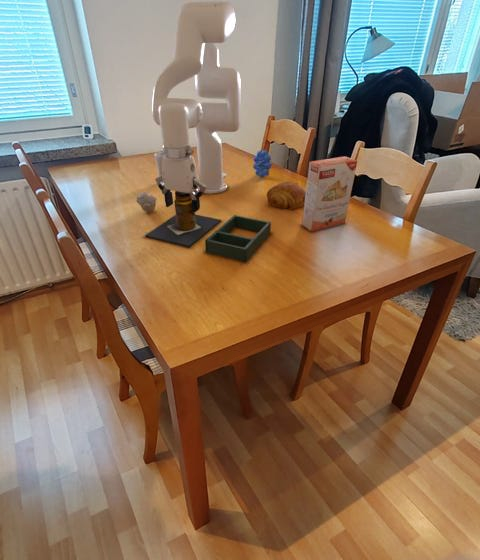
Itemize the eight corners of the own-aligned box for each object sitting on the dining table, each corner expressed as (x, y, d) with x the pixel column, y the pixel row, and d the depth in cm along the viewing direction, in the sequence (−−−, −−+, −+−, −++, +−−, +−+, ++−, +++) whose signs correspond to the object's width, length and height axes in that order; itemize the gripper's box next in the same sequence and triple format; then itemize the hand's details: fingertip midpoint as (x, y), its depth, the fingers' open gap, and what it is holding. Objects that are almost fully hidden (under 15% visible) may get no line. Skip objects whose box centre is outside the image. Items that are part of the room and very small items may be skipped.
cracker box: (312, 233, 112) (320, 166, 100) (301, 225, 116) (308, 161, 104) (346, 224, 117) (358, 159, 105) (334, 217, 122) (344, 154, 110)
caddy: (234, 226, 116) (234, 214, 114) (270, 233, 111) (270, 222, 109) (205, 252, 102) (204, 240, 99) (245, 262, 97) (245, 249, 95)
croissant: (260, 208, 133) (258, 188, 128) (285, 191, 141) (284, 172, 136) (291, 218, 125) (290, 197, 120) (316, 200, 133) (316, 180, 128)
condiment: (201, 227, 113) (198, 191, 107) (178, 235, 109) (173, 198, 102) (189, 220, 118) (186, 185, 111) (166, 227, 114) (162, 191, 107)
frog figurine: (136, 210, 127) (133, 191, 123) (156, 207, 129) (153, 188, 125) (139, 216, 122) (136, 197, 118) (160, 213, 124) (157, 194, 120)
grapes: (277, 179, 154) (279, 151, 147) (265, 182, 151) (266, 153, 144) (261, 172, 162) (262, 145, 155) (249, 175, 158) (249, 147, 152)
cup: (154, 184, 148) (150, 155, 141) (164, 178, 154) (161, 150, 148) (171, 187, 146) (167, 157, 139) (180, 181, 152) (178, 152, 145)
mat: (180, 213, 125) (180, 211, 124) (221, 221, 119) (220, 219, 119) (145, 237, 110) (145, 235, 109) (189, 247, 104) (189, 246, 104)
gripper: (210, 152, 100) (212, 208, 110) (159, 145, 106) (166, 199, 116) (196, 158, 95) (200, 217, 104) (144, 151, 101) (152, 207, 110)
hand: (182, 208), depth 110 cm, fingers open, 9 cm apart
